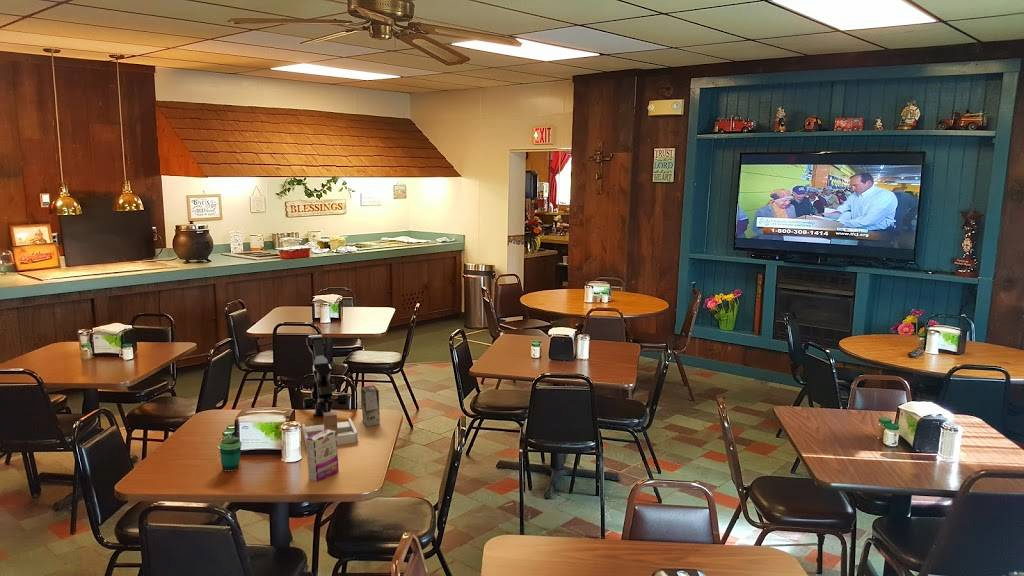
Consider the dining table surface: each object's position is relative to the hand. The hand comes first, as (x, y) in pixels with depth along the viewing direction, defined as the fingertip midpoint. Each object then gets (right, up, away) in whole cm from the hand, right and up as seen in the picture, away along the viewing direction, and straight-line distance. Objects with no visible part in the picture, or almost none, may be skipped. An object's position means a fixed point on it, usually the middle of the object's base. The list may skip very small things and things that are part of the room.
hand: (327, 418), depth 315 cm
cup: (-28, -13, -36) cm, 47 cm away
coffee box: (+16, -5, +16) cm, 23 cm away
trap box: (+1, -8, -3) cm, 8 cm away
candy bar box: (+9, -14, -42) cm, 46 cm away
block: (+4, -6, -9) cm, 11 cm away
